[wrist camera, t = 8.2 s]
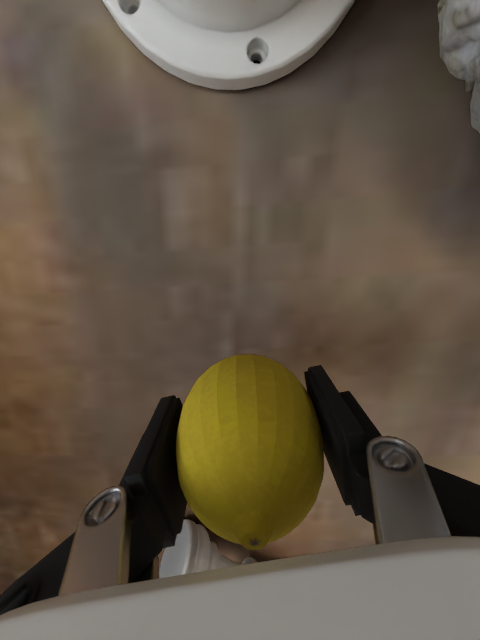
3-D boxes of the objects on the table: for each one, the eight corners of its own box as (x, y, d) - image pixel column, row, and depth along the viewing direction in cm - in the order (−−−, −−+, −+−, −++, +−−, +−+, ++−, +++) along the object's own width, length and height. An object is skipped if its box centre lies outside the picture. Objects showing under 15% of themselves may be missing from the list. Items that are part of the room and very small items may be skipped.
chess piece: (175, 514, 21) (269, 545, 23) (150, 589, 18) (260, 615, 21) (197, 523, 17) (303, 558, 20) (170, 617, 15) (297, 642, 17)
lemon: (316, 366, 14) (412, 527, 6) (254, 432, 15) (271, 630, 7) (234, 308, 13) (228, 417, 5) (176, 385, 14) (103, 560, 6)
